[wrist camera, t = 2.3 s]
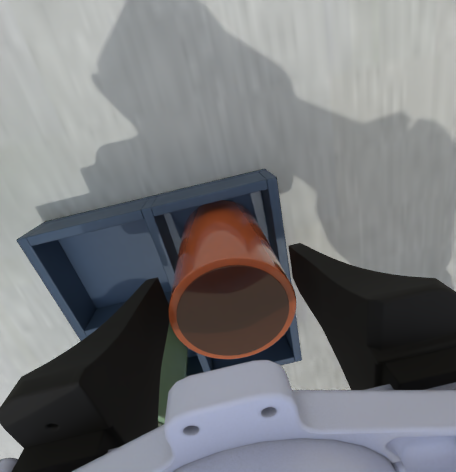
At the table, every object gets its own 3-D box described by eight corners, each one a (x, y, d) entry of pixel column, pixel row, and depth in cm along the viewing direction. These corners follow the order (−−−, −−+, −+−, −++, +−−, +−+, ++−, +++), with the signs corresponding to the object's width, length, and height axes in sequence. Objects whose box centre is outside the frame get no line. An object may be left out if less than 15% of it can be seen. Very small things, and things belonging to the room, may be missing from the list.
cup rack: (265, 168, 17) (276, 176, 15) (290, 333, 24) (302, 360, 21) (43, 221, 17) (15, 239, 15) (129, 371, 24) (120, 403, 21)
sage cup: (178, 301, 20) (164, 403, 13) (197, 350, 23) (194, 460, 15) (110, 318, 20) (58, 428, 13) (136, 365, 23) (104, 481, 15)
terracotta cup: (252, 191, 17) (289, 243, 10) (265, 261, 20) (303, 345, 12) (171, 210, 17) (148, 276, 10) (194, 278, 20) (189, 372, 12)
